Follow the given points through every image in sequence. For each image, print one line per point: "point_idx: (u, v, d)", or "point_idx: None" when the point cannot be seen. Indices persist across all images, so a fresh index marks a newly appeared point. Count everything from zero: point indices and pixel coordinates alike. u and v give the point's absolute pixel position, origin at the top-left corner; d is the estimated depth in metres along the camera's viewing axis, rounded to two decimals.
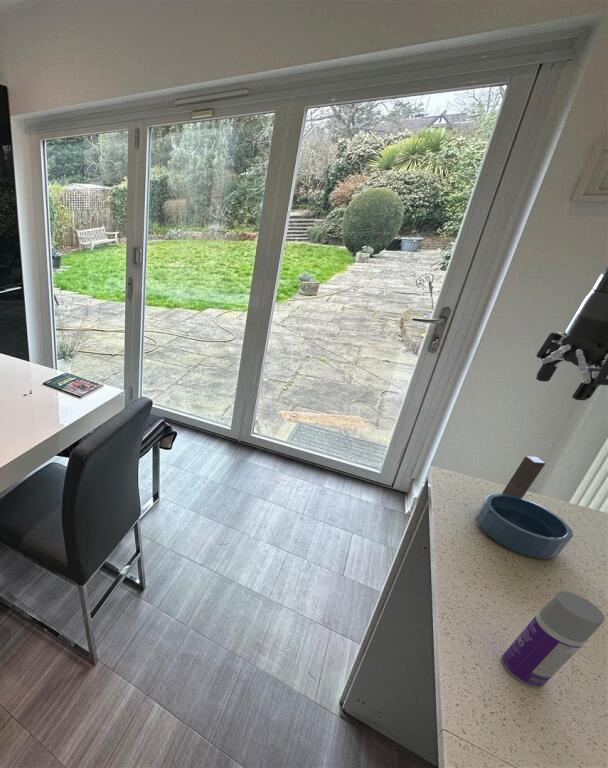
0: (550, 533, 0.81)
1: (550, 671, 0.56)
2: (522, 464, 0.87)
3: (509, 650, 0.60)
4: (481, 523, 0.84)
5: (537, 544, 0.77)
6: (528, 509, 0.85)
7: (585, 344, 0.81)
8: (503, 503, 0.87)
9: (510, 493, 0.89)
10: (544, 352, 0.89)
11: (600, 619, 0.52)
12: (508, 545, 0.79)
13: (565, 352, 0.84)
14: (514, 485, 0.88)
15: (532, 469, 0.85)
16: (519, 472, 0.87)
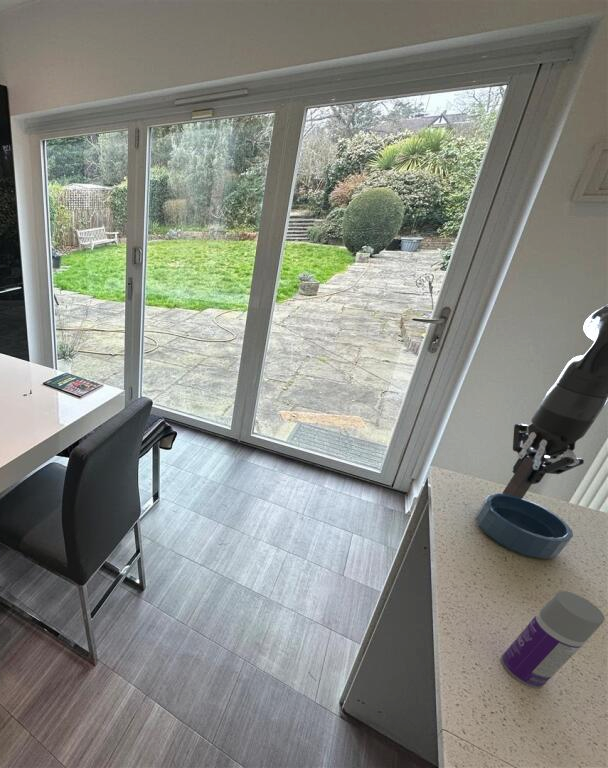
0: (550, 533, 0.81)
1: (550, 671, 0.56)
2: (522, 464, 0.86)
3: (509, 650, 0.60)
4: (481, 523, 0.84)
5: (537, 544, 0.77)
6: (528, 509, 0.85)
7: (550, 435, 0.81)
8: (503, 503, 0.87)
9: (510, 493, 0.89)
10: (518, 444, 0.88)
11: (600, 619, 0.52)
12: (508, 545, 0.79)
13: (531, 439, 0.85)
14: (515, 485, 0.88)
15: None
16: (519, 472, 0.87)
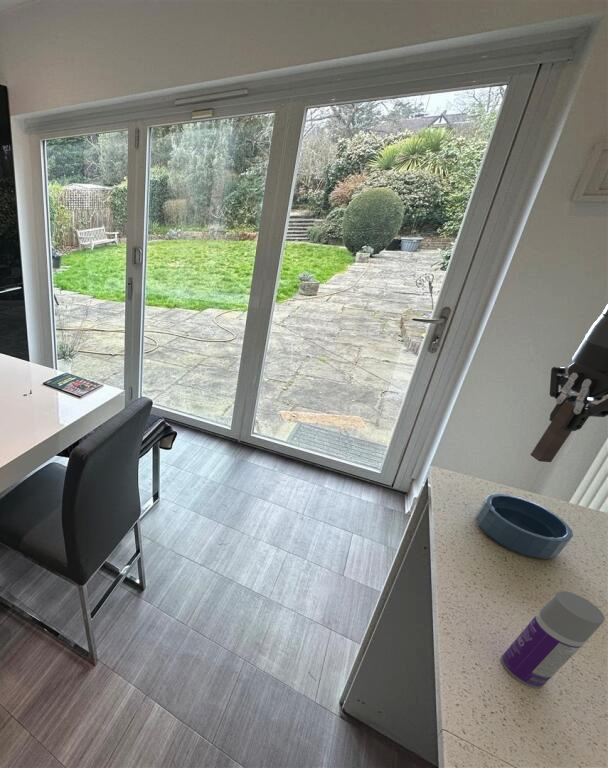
0: (550, 533, 0.81)
1: (550, 671, 0.56)
2: (561, 410, 0.79)
3: (509, 650, 0.60)
4: (481, 523, 0.84)
5: (537, 544, 0.77)
6: (528, 509, 0.85)
7: (594, 374, 0.74)
8: (503, 503, 0.87)
9: (547, 443, 0.81)
10: (556, 389, 0.80)
11: (600, 619, 0.52)
12: (508, 545, 0.79)
13: (571, 381, 0.77)
14: (552, 434, 0.80)
15: None
16: (557, 419, 0.79)
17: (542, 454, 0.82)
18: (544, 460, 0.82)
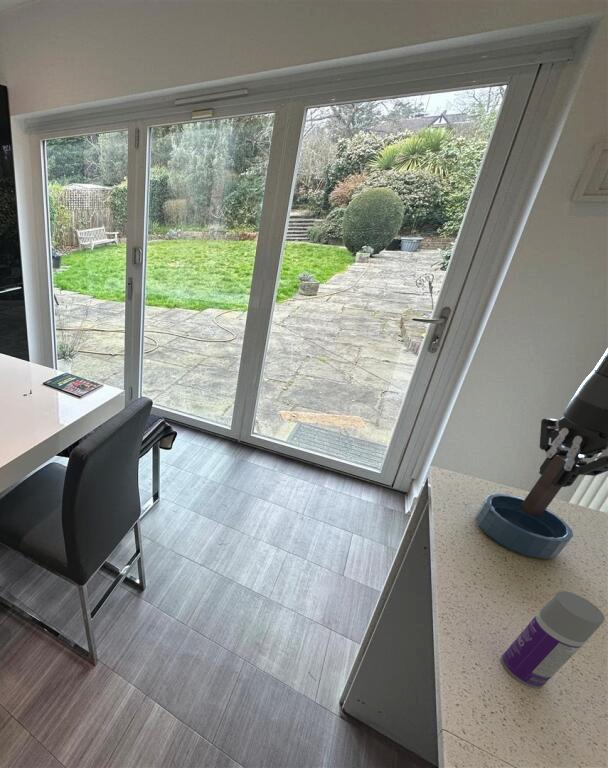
0: (550, 533, 0.81)
1: (550, 671, 0.56)
2: (551, 464, 0.76)
3: (509, 650, 0.60)
4: (481, 523, 0.84)
5: (537, 544, 0.77)
6: None
7: (585, 431, 0.71)
8: (503, 503, 0.87)
9: (536, 497, 0.78)
10: (546, 442, 0.77)
11: (600, 619, 0.52)
12: (508, 545, 0.79)
13: (562, 436, 0.74)
14: (542, 488, 0.77)
15: None
16: (547, 473, 0.76)
17: (531, 508, 0.79)
18: (534, 514, 0.79)
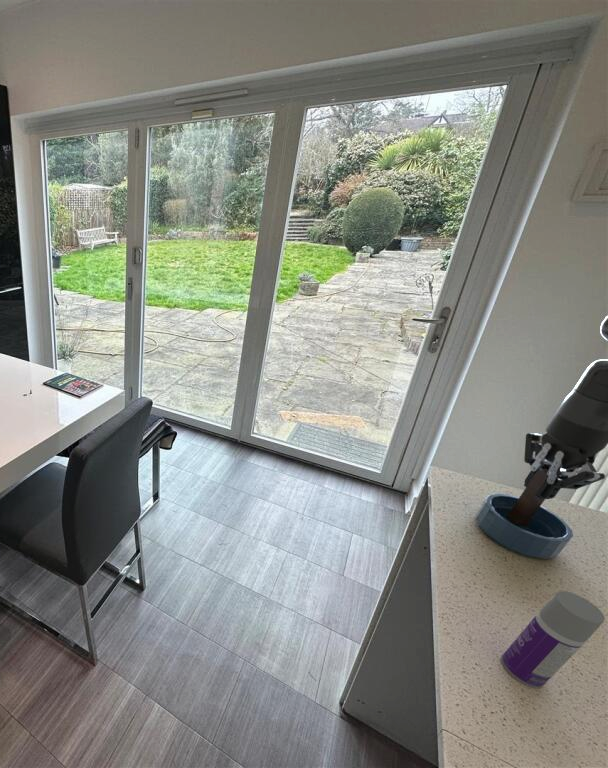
0: (550, 533, 0.81)
1: (550, 671, 0.56)
2: (535, 478, 0.79)
3: (509, 650, 0.60)
4: (481, 523, 0.84)
5: (537, 544, 0.77)
6: None
7: (566, 446, 0.74)
8: (503, 503, 0.87)
9: (521, 509, 0.82)
10: (531, 455, 0.81)
11: (600, 619, 0.52)
12: (508, 545, 0.79)
13: (545, 450, 0.77)
14: (526, 500, 0.81)
15: None
16: (531, 486, 0.80)
17: (517, 519, 0.82)
18: (519, 524, 0.83)
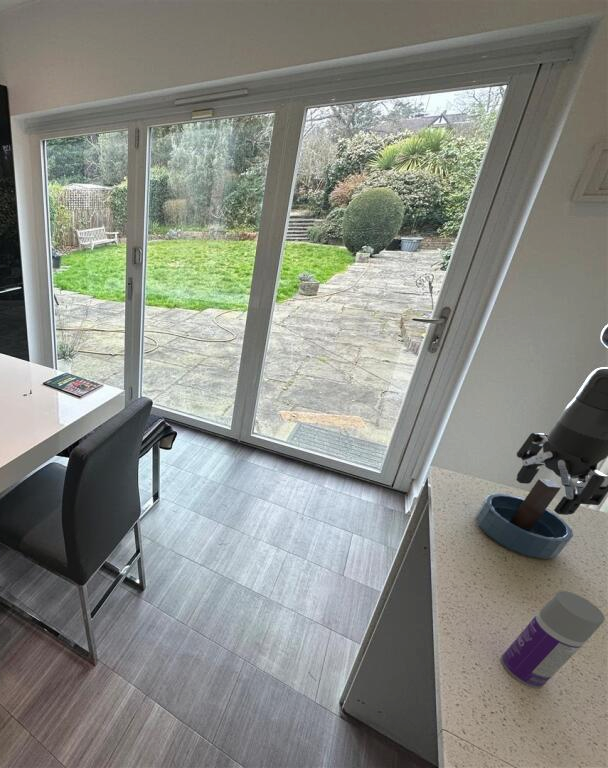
0: (550, 533, 0.81)
1: (550, 671, 0.56)
2: (535, 488, 0.79)
3: (509, 650, 0.60)
4: (481, 523, 0.84)
5: (537, 544, 0.77)
6: None
7: (568, 455, 0.73)
8: (503, 503, 0.87)
9: (521, 519, 0.81)
10: (525, 453, 0.81)
11: (600, 619, 0.52)
12: (508, 545, 0.79)
13: (546, 459, 0.76)
14: (526, 510, 0.80)
15: (546, 494, 0.77)
16: (531, 497, 0.79)
17: None
18: None
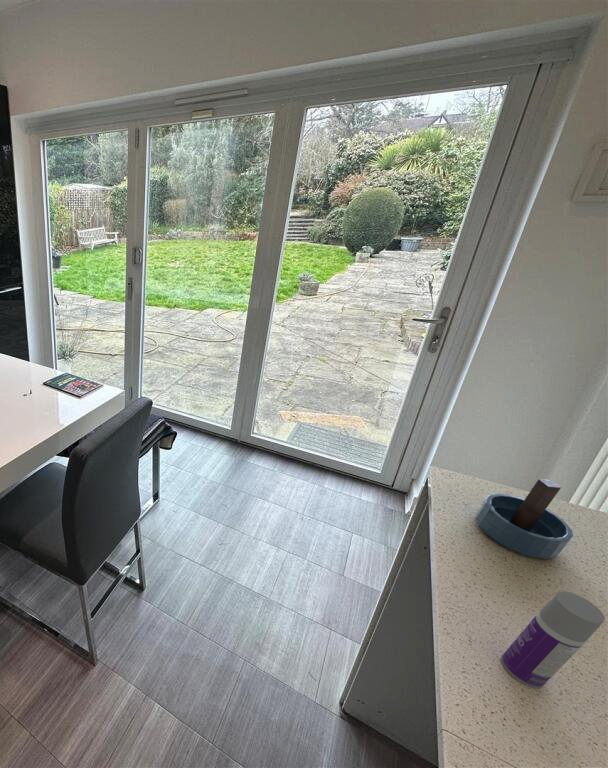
0: (550, 533, 0.81)
1: (550, 671, 0.56)
2: (535, 488, 0.79)
3: (509, 650, 0.60)
4: (481, 523, 0.84)
5: (537, 544, 0.77)
6: None
7: None
8: (503, 503, 0.87)
9: (521, 519, 0.81)
10: None
11: (600, 619, 0.52)
12: (508, 545, 0.79)
13: None
14: (526, 510, 0.80)
15: (546, 494, 0.77)
16: (531, 497, 0.79)
17: None
18: None
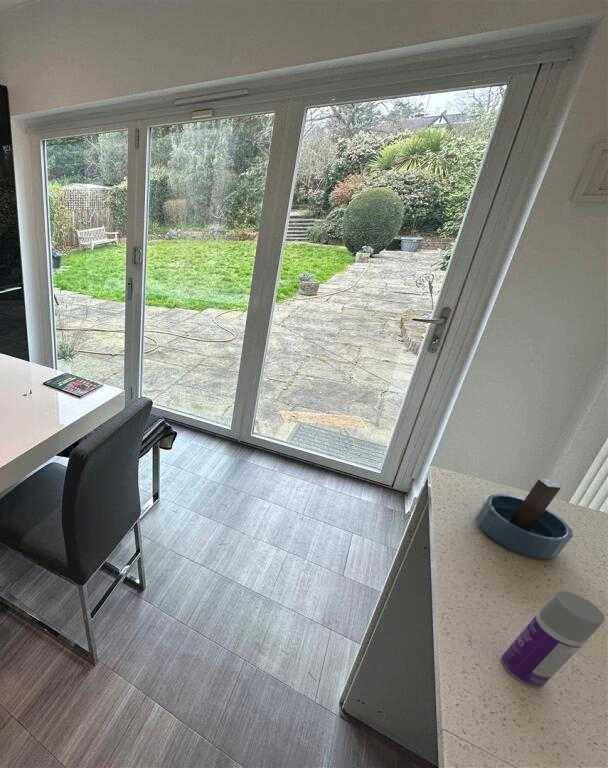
0: (550, 533, 0.81)
1: (550, 671, 0.56)
2: (535, 488, 0.79)
3: (509, 650, 0.60)
4: (481, 523, 0.84)
5: (537, 544, 0.77)
6: None
7: None
8: (503, 503, 0.87)
9: (521, 519, 0.81)
10: None
11: (600, 619, 0.52)
12: (508, 545, 0.79)
13: None
14: (526, 510, 0.80)
15: (546, 494, 0.77)
16: (531, 497, 0.79)
17: None
18: None
